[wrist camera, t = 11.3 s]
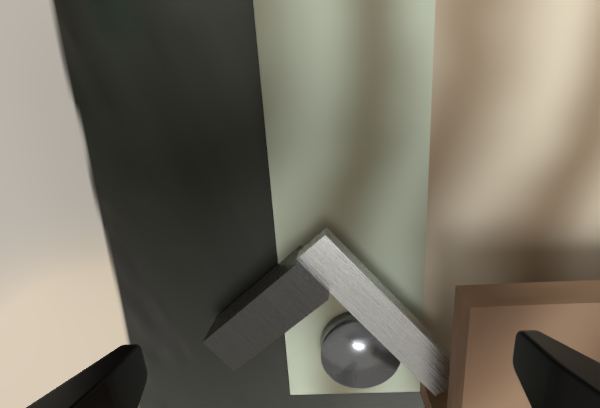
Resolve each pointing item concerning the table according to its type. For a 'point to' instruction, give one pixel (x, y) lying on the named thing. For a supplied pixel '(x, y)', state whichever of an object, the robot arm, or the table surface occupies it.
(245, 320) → the brushed metal angle bracket
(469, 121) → the pale gradient board
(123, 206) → the table surface
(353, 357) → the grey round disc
